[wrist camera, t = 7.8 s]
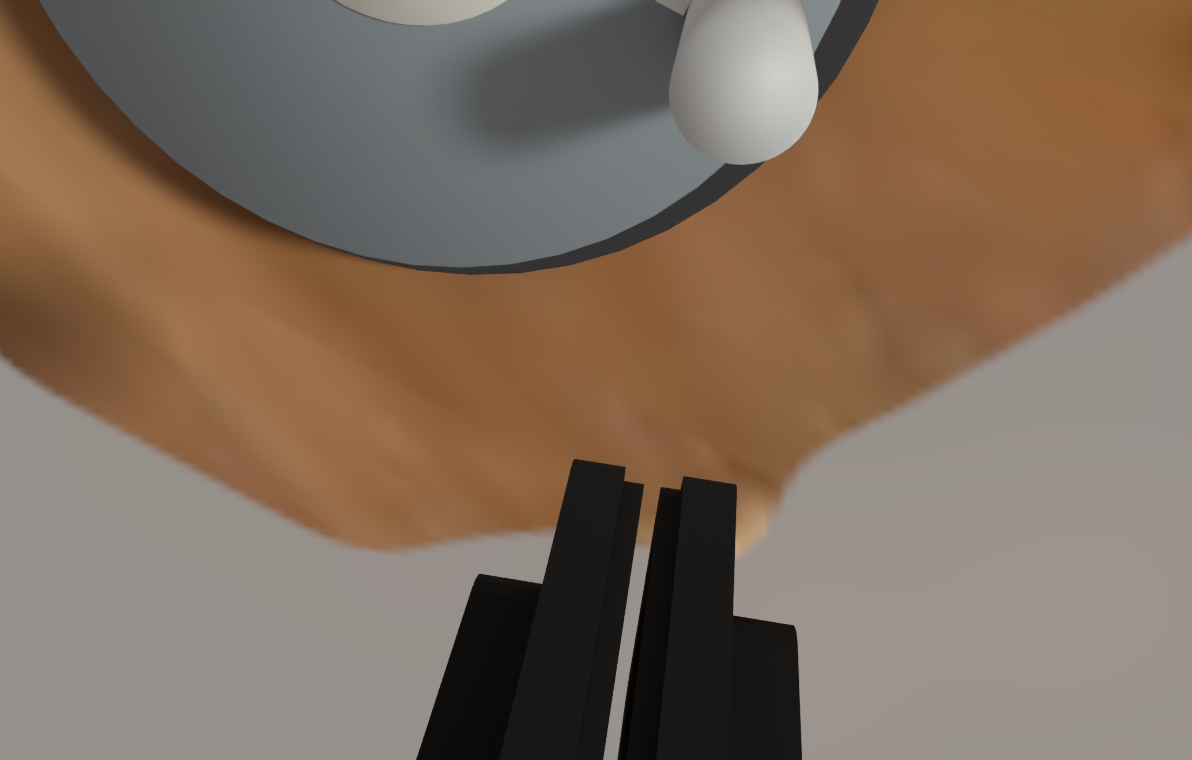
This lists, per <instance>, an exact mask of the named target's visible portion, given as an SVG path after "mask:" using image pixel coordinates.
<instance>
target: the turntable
mask: <svg viewBox="0 0 1192 760" xmlns="http://www.w3.org/2000/svg"><path fill="white" fill-rule="evenodd" d="M39 1H40V3H41V5H42V6H43V8H44V10H45V11H46V13H47V14H48V16H49V18H50V19H51V21H52V23H53V24H54V26H55V28H56V29H57V31H58V33H59V34H60V36H61V37H62V39H63V40H64V41H65V43H66V44H67V45H68V46H69V48H70V49H71V50H72V52H73V53H74V54H75V56H76V57H77V58H78V60H79V61H80V62H81V64H82V65H83V66H84V68H85V69H86V70H87V72H88V73H89V74H90V76H91V77H92V78H93V80H94V81H95V82H96V84H97V85H98V86H99V87H100V88H101V89H102V90H103V91H104V92H105V93H106V95H107V96H108V97H109V98H110V99H111V100H112V101H113V102H114V103H115V104H116V105H117V106H118V108H119V109H120V110H121V111H122V112H123V113H124V114H125V115H126V116H127V117H128V118H129V120H130V121H131V122H132V123H133V124H134V125H135V126H136V127H137V128H138V129H139V130H141V131H142V132H143V133H144V134H145V135H146V136H147V137H148V138H150V139H151V140H152V141H153V142H154V143H155V144H156V145H157V146H159V147H160V148H161V149H162V150H163V151H164V152H165V153H166V154H168V155H169V156H170V157H171V158H172V159H173V160H174V161H176V162H177V163H178V164H179V165H181V166H182V167H183V168H185V169H186V170H188V171H189V172H190V173H192V174H193V175H195V176H196V177H197V178H199V179H200V180H202V181H203V182H204V183H206V184H207V185H209V186H210V187H211V188H213V189H214V190H216V191H217V192H218V193H220V194H221V195H223V196H224V197H226V198H228V199H230V200H232V201H233V202H235V203H237V204H239V205H240V206H242V207H244V208H246V209H247V210H249V211H251V212H253V213H255V214H256V215H258V216H260V217H262V218H263V219H265V220H267V221H269V222H271V223H274V224H276V225H278V226H281V227H283V228H285V229H287V230H290V231H292V232H294V233H297V234H299V235H301V236H304V237H306V238H308V239H311V240H313V241H315V242H319V243H322V244H325V245H329V246H332V247H335V248H339V249H342V250H345V251H349V252H352V253H355V254H359V255H362V256H366V257H372V258H378V259H383V260H389V261H394V262H400V263H406V264H411V265H426V266H444V267H462V268H463V267H477V266H492V265H506V264H515V263H520V262H525V261H530V260H535V259H540V258H545V257H550V256H555V255H560V254H563V253H566V252H569V251H572V250H575V249H578V248H581V247H584V246H587V245H590V244H593V243H596V242H599V241H602V240H605V239H608V238H610V237H612V236H614V235H616V234H618V233H620V232H622V231H624V230H626V229H628V228H631V227H633V226H635V225H637V224H639V223H641V222H643V221H645V220H647V219H649V218H651V217H653V216H655V215H656V214H658V213H659V212H661V211H662V210H664V209H665V208H667V207H668V206H670V205H671V204H673V203H675V202H676V201H678V200H679V199H681V198H682V197H684V196H685V195H687V194H688V193H690V192H691V191H693V190H694V189H696V188H697V187H698V186H700V185H701V184H702V183H703V182H704V181H705V180H707V179H708V178H709V177H710V176H711V175H712V174H714V173H715V172H716V171H717V170H718V169H719V168H720V167H722V166H723V165H724V164H725V163H729V164H738V165H745V164H754V163H759V162H763V161H766V160H769V159H771V158H773V157H775V156H777V155H779V154H781V153H783V152H784V151H786V150H787V149H788V148H790V147H791V146H792V145H793V144H794V143H795V142H796V141H797V140H798V139H799V138H800V137H801V136H802V134H803V133H804V132H805V130H806V129H807V127H808V125H809V123H810V122H811V120H812V117H813V115H814V112H815V109H816V105H817V100H818V78H817V72H816V66H815V61H814V56H813V54H814V52H815V50H816V49H817V47H818V45H819V43H820V41H821V39H822V37H823V35H824V33H825V31H826V29H827V27H828V26H829V24H830V22H831V20H832V18H833V16H834V14H835V12H836V10H837V8H838V6H839V4H840V1H841V0H39Z"/></svg>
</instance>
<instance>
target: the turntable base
mask: <svg viewBox="0 0 1192 760" xmlns="http://www.w3.org/2000/svg"><path fill="white" fill-rule="evenodd" d="M877 2H878V0H841V1H840V4H839V6H838V8H837V10H836V12H835V14H834V16H833V18H832V20H831V22H830V24H829V26H828V27H827V29H826V31H825V33H824V35H823V37H822V39H821V41H820V43H819V45H818V47H817V49H816V50H815V52H814V54H813V56H814V61H815V66H816V72H817V78H818V100H817V102H818V101H819V100H820V98H821V97H822V96H823V95H824V93H825V92H826V91H827V89H828V88H829V87H830V85H831V84H832V83H833V81H834V80H835V79H836V77H837V76H838V74H839V72H840V71H841V69H842V67H843V66H844V64H845V62H846V60H847V59H848V57H849V55H850V54H851V52H852V50H853V48H854V47H855V45H856V43H857V42H858V40H859V38H860V36H861V35H862V33H863V31H864V30H865V28H866V26H867V25H868V23H869V21H870V18H871V16H872V14H873V11H874V9H875V7H876V4H877ZM763 162H764V161H763ZM763 162H759V163H754V164H745V165H738V164H729V163H725V164H724V165H723V166H722V167H720V168H719V169H718V170H717V171H716V172H715V173H714V174H712V175H711V176H710V177H709V178H708V179H707V180H705V181H704V182H703V183H702V184H701V185H700V186H698V187H697V188H696V189H694V190H693V191H691V192H690V193H688V194H687V195H685V196H684V197H682V198H681V199H679V200H678V201H676V202H675V203H673V204H671V205H670V206H668V207H667V208H665V209H664V210H662V211H661V212H659V213H658V214H656V215H655V216H653V217H651V218H649V219H647V220H645V221H643V222H641V223H639V224H637V225H635V226H633V227H631V228H628V229H626V230H624V231H622V232H620V233H618V234H616V235H614V236H612V237H610V238H608V239H605V240H602V241H599V242H596V243H593V244H590V245H587V246H584V247H581V248H578V249H575V250H572V251H569V252H566V253H563V254H560V255H555V256H550V257H545V258H540V259H535V260H530V261H525V262H520V263H515V264H506V265H492V266H477V267H463V268H462V267H444V266H426V265H411V264H406V263H400V262H394V261H389V260H383V259H378V258H372V257H366V256H362V255H359V254H355V253H352V252H349V251H345V250H342V249H339V248H336V249H338V250H341V251H344V252H347V253H350V254H353V255H356V256H359V257H362V258H365V259H368V260H373V261H378V262H383V263H387V264H392V265H397V266H401V267H406V268H411V269H416V270H423V271H434V272H445V273H456V274H467V275H475V274H506V273H524V272H530V271H536V270H543V269H549V268H555V267H562V266H568V265H573V264H576V263H579V262H583V261H586V260H590V259H593V258H597V257H600V256H603V255H607V254H610V253H614V252H617V251H621V250H623V249H625V248H627V247H630V246H632V245H634V244H637V243H639V242H641V241H643V240H646V239H648V238H650V237H653V236H655V235H657V234H659V233H662V232H664V231H666V230H669V229H670V228H672V227H674V226H675V225H677V224H679V223H680V222H682V221H684V220H685V219H687V218H689V217H690V216H692V215H694V214H695V213H697V212H699V211H700V210H702V209H704V208H705V207H707V206H709V205H710V204H712V203H714V202H715V201H717V200H718V199H719V198H720V197H722V196H723V195H724V194H725V193H727V192H728V191H729V190H731V189H732V188H733V187H734V186H736V185H737V184H738V183H739V182H741V181H742V180H743V179H744V178H746V177H747V176H748V175H750V174H751V173H752V172H753V171H755V170H756V169H757V168H758V167H760V166H761V165H762V164H763ZM318 243H319V242H318ZM321 244H322V243H321ZM324 245H325V244H324ZM327 246H329V245H327ZM330 247H332V246H330ZM333 248H335V247H333Z"/></svg>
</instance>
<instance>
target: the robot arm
mask: <svg viewBox="0 0 1192 760" xmlns="http://www.w3.org/2000/svg"><path fill="white" fill-rule="evenodd" d="M625 469H626V467H622V466H616V465H609V464H603V463H597V462H590V461H584V460H578V459H574V460H573V463H572V466H571V470H570V474H569V478H568V483H567V487H566V491H565V495H564V499H563V503H562V507H561V511H560V515H559V519H558V523H557V527H556V531H555V535H554V539H553V543H552V548H551V552H550V556H549V559H548V564H547V568H546V572H545V576H544V580H543V584H539V583H533V582H526V581H521V580H515V579H509V578H502V577H496V576H490V575H484V574H479V575H478V576H477V578H476V579H475V582H474V585H473V587H472V590H471V593H470V596H469V600H468V602H467V605H466V608H465V612H464V614H463V617H462V621H461V624H460V627H459V630H458V633H457V636H456V639H455V642H454V645H453V648H452V651H451V654H450V658H449V661H448V664H447V667H446V670H445V673H444V676H443V679H442V682H441V685H440V688H439V691H438V694H437V697H436V701H435V704H434V707H433V710H432V713H431V716H430V719H429V722H428V725H427V728H426V731H425V735H424V737H423V741H422V744H421V747H420V750H419V753H418V756H417V759H416V760H603V756H604V750H605V743H606V737H607V730H608V723H609V716H610V709H611V703H612V696H613V690H614V683H615V676H616V669H617V663H618V656H619V649H620V643H621V636H622V629H623V623H624V616H625V609H626V602H627V596H628V588H629V582H630V575H631V569H632V562H633V555H634V549H635V542H636V535H637V529H638V522H639V515H640V509H641V502H642V495H643V488H644V484H639V483H633V482H626V481H624V477H625ZM736 500H737V487H736V484H730V483H723V482H717V481H711V480H704V479H698V478H692V477H685V476H684V477H683V481H682V485H681V490H677V489H670V488H664V487H661V489H660V494H659V500H658V506H657V512H656V518H655V524H654V530H653V536H652V542H651V548H650V554H649V560H648V566H647V572H646V578H645V584H644V590H643V596H642V603H641V608H640V614H639V620H638V626H637V632H636V638H635V644H634V650H633V657H632V662H631V669H630V674H629V680H628V687H627V694H626V701H625V708H624V715H623V723H622V730H621V738H620V745H619V752H618V760H802V747H801V724H800V723H801V722H800V698H799V697H800V696H799V670H798V644H797V634H796V629H795V627H794V625H788V624H782V623H775V622H770V621H764V620H758V619H752V618H745V617H739V616H733V596H734V565H735V533H736Z"/></svg>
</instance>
